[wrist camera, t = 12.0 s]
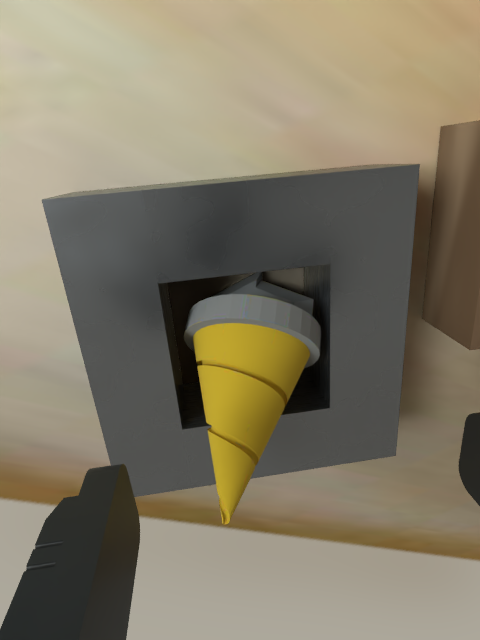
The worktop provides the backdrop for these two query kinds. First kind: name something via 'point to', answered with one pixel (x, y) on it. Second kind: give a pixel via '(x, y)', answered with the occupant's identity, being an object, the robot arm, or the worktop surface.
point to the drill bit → (248, 371)
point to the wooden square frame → (456, 237)
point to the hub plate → (231, 259)
